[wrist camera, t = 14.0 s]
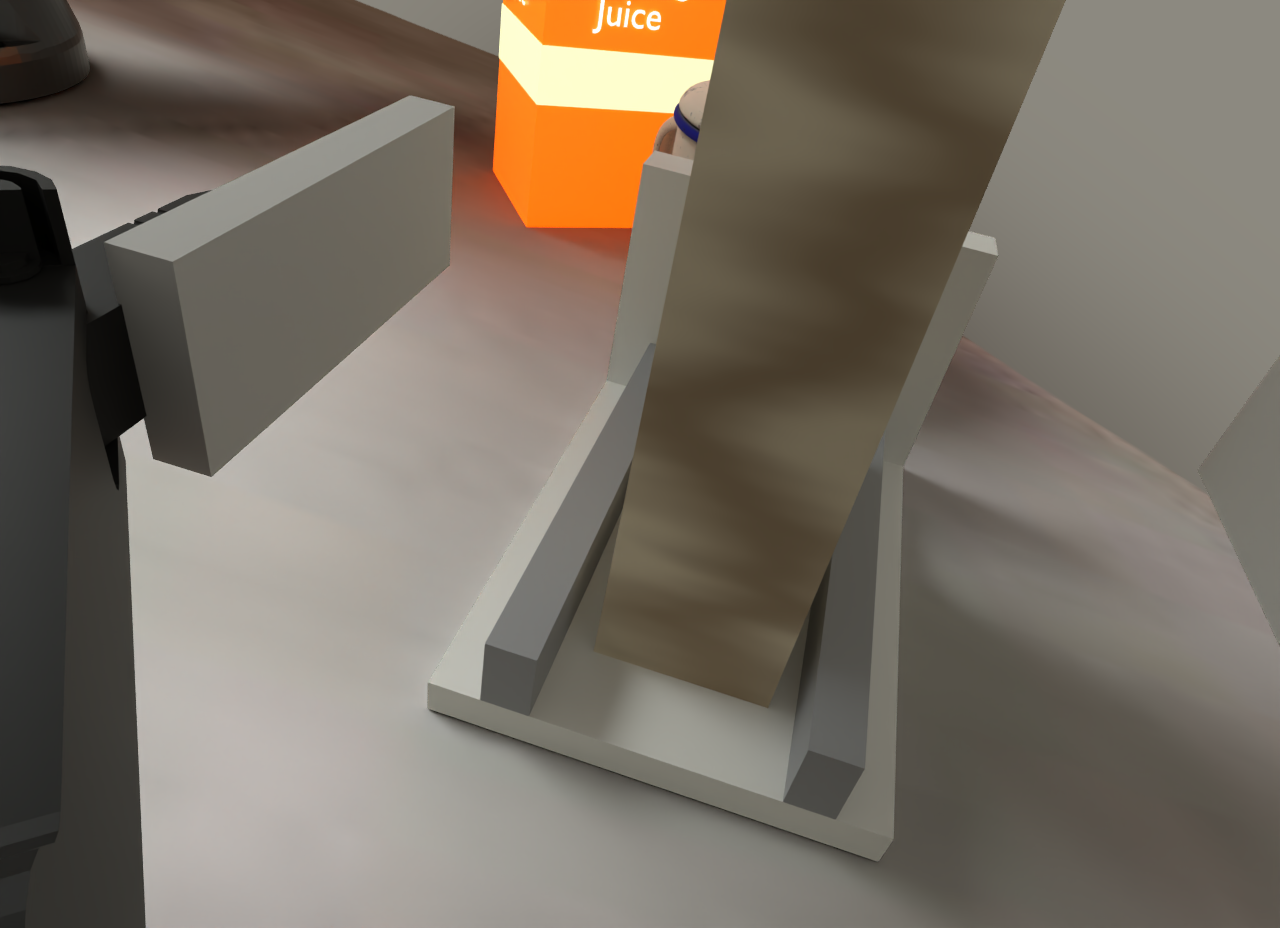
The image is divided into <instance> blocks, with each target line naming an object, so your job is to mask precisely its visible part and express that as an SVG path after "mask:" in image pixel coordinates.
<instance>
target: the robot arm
mask: <svg viewBox="0 0 1280 928" xmlns="http://www.w3.org/2000/svg"><path fill="white" fill-rule="evenodd" d="M89 71H90V65H89V61H88V56H87V51H86V47H85V42H84V37H83V33H82V30H81V27H80V25H79V22H78V20H77V19H76V17H75V15H74V13H73V11H72V9H71V8H70V6H69V4H68V2H67V0H0V104H1V103H9V102H16V101H22V100H28V99H33V98H37V97H42V96H46V95H50V94H53V93H56V92H59V91H62V90H65V89H67V88H70V87H72V86H74V85H76V84H78V83H79V82H81V81H82V80H83V79H84V78H85V77H86V76H87V75H88V73H89ZM454 110H455V107H454V106H450V105H446V104H443V103H439V102H435V101H431V100H427V99H423V98H419V97H415V96H411V95H410V96H408V97H406V98H404V99H401V100H399V101H397V102H395V103H393V104H391V105H389V106H387V107H385V108H383V109H381V110H378V111H376V112H374V113H372V114H370V115H368V116H366V117H364V118H362V119H360V120H358V121H356V122H353V123H351V124H349V125H347V126H345V127H343V128H341V129H339V130H337V131H335V132H333V133H330V134H328V135H326V136H324V137H322V138H320V139H318V140H316V141H314V142H312V143H310V144H308V145H305V146H303V147H301V148H299V149H297V150H295V151H293V152H291V153H289V154H287V155H285V156H282V157H280V158H278V159H276V160H274V161H272V162H270V163H268V164H266V165H264V166H262V167H260V168H257V169H255V170H253V171H251V172H249V173H247V174H245V175H243V176H241V177H239V178H237V179H234V180H232V181H230V182H228V183H226V184H224V185H222V186H220V187H218V188H216V189H214V190H210V191H205V192H200V193H195V194H191V195H186V196H184V197H182V198H180V199H178V200H176V201H174V202H171V203H169V204H167V205H165V206H163V207H161V208H159V209H158V212H157V213H156V212H150V213H148V214H146V215H144V216H142V217H140V218H137V219H135V220H134V224H131V223H127V224H125V225H122V226H120V227H118V228H116V229H114V230H112V231H110V232H108V233H105V234H103V235H101V236H99V237H97V238H95V239H93V240H91V241H88V242H86V243H84V244H82V245H80V246H78V247H76V248H74V249H72V248H71V244H70V240H69V236H68V232H67V228H66V224H65V220H64V216H63V212H62V209H61V205H60V201H59V197H58V193H57V189H56V187H55V185H54V183H53V182H52V180H51V179H49V178H47V177H45V176H43V175H41V174H39V173H37V172H35V171H30V170H26V169H21V168H16V167H12V166H0V928H146V925H145V902H144V879H143V855H142V832H141V809H140V786H139V763H138V739H137V716H136V693H135V670H134V646H133V623H132V600H131V577H130V554H129V530H128V507H127V484H126V461H125V457H124V453H123V449H122V445H121V441H120V437H119V436H120V435H121V434H123V433H124V432H125V431H127V430H128V429H129V428H131V427H132V426H134V425H135V424H136V423H138V422H139V421H140V420H142V419H143V418H144V421H145V425H146V429H147V434H148V438H149V442H150V447H151V451H152V455H153V459H155V460H159V461H162V462H165V463H168V464H171V465H175V466H178V467H181V468H184V469H187V470H191V471H194V472H197V473H200V474H204V475H207V476H210V477H212V476H213V475H214V474H215V473H216V472H217V471H219V470H220V469H221V468H222V467H223V466H224V465H225V464H226V463H228V462H229V461H230V460H231V459H232V458H233V457H234V456H235V455H237V454H238V453H239V452H240V451H241V450H242V449H243V448H244V447H246V446H247V445H248V444H249V443H250V442H251V441H252V440H253V439H255V438H256V437H257V436H258V435H259V434H260V433H261V432H262V431H264V430H265V429H266V428H267V427H268V426H269V425H270V424H271V423H273V422H274V421H275V420H276V419H277V418H278V417H279V416H280V415H282V414H283V413H284V412H285V411H286V410H287V409H288V408H289V407H291V406H292V405H293V404H294V403H295V402H296V401H297V400H298V399H300V398H301V397H302V396H303V395H304V394H305V393H306V392H307V391H309V390H310V389H311V388H312V387H313V386H314V385H315V384H316V383H318V382H319V381H320V380H321V379H322V378H323V377H324V376H325V375H327V374H328V373H329V372H330V371H331V370H332V369H333V368H334V367H336V366H337V365H338V364H339V363H340V362H341V361H342V360H343V359H345V358H346V357H347V356H348V355H349V354H350V353H351V352H352V351H354V350H355V349H356V348H357V347H358V346H359V345H360V344H361V343H363V342H364V341H365V340H366V339H367V338H368V337H369V336H370V335H372V334H373V333H374V332H375V331H376V330H377V329H378V328H379V327H381V326H382V325H383V324H384V323H385V322H386V321H387V320H388V319H390V318H391V317H392V316H393V315H394V314H395V313H396V312H397V311H399V310H400V309H401V308H402V307H403V306H404V305H405V304H406V303H408V302H409V301H410V300H411V299H412V298H413V297H414V296H415V295H417V294H418V293H419V292H420V291H421V290H422V289H423V288H424V287H426V286H427V285H428V284H429V283H430V282H431V281H432V280H433V279H435V278H436V277H437V276H438V275H439V274H440V273H441V272H442V271H444V270H445V269H446V268H447V267H448V266H449V265H450V236H451V204H452V173H453V141H454ZM1198 472H1199V474H1200V477H1201V479H1202V481H1203V483H1204V485H1205V487H1206V489H1207V492H1208V494H1209V496H1210V498H1211V500H1212V502H1213V505H1214V507H1215V509H1216V511H1217V513H1218V515H1219V517H1220V520H1221V522H1222V524H1223V526H1224V528H1225V530H1226V532H1227V535H1228V537H1229V539H1230V541H1231V543H1232V545H1233V547H1234V550H1235V552H1236V554H1237V556H1238V558H1239V560H1240V562H1241V565H1242V567H1243V569H1244V571H1245V573H1246V575H1247V577H1248V580H1249V582H1250V584H1251V586H1252V588H1253V590H1254V592H1255V595H1256V597H1257V599H1258V601H1259V603H1260V605H1261V607H1262V610H1263V612H1264V614H1265V616H1266V618H1267V620H1268V622H1269V625H1270V627H1271V629H1272V631H1273V633H1274V635H1275V637H1276V640H1277V642H1278V644H1279V646H1280V356H1279V357H1278V359H1277V360H1276V361H1275V363H1274V364H1273V365H1272V367H1271V368H1270V370H1269V371H1268V372H1267V374H1266V375H1265V377H1264V378H1263V379H1262V381H1261V382H1260V384H1259V385H1258V386H1257V388H1256V389H1255V391H1254V392H1253V393H1252V395H1251V396H1250V398H1249V399H1248V400H1247V402H1246V403H1245V404H1244V406H1243V407H1242V409H1241V410H1240V412H1239V413H1238V414H1237V416H1236V417H1235V418H1234V420H1233V421H1232V423H1231V424H1230V426H1229V427H1228V428H1227V430H1226V431H1225V432H1224V434H1223V435H1222V437H1221V438H1220V439H1219V441H1218V442H1217V444H1216V445H1215V446H1214V448H1213V449H1212V451H1211V452H1210V453H1209V455H1208V456H1207V458H1206V459H1205V460H1204V462H1203V463H1202V465H1201V466H1200V467H1199V469H1198Z"/></svg>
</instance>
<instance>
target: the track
mask: <svg viewBox="0 0 1280 928" xmlns="http://www.w3.org/2000/svg"><path fill="white" fill-rule="evenodd" d="M693 161H694V160H690V159H686V158H682V157H679V156H675V155H671V154H667V153H663V152H659V151H654V152H653V153H652V154H651V155H650V157H649V158H648V159H647V160H646V161H645V162H644V163H643V168H642V174H641V180H640V185H639V191H638V197H637V203H636V209H635V215H634V221H633V227H632V233H631V239H630V245H629V251H628V257H627V263H626V269H625V275H624V281H623V287H622V293H621V298H620V304H619V310H618V316H617V322H616V328H615V334H614V340H613V346H612V352H611V358H610V364H609V370H608V376H607V381H606V382H605V384H604V386H603V388H602V389H601V391H600V393H599V394H598V396H597V398H596V399H595V401H594V403H593V404H592V406H591V408H590V409H589V411H588V413H587V415H586V416H585V418H584V420H583V421H582V423H581V425H580V426H579V428H578V430H577V431H576V433H575V435H574V437H573V438H572V440H571V442H570V443H569V445H568V447H567V448H566V450H565V452H564V453H563V455H562V457H561V458H560V460H559V462H558V464H557V465H556V467H555V469H554V470H553V472H552V474H551V475H550V477H549V479H548V480H547V482H546V484H545V485H544V487H543V489H542V491H541V492H540V494H539V496H538V497H537V499H536V501H535V502H534V504H533V506H532V507H531V509H530V511H529V513H528V514H527V516H526V518H525V519H524V521H523V523H522V524H521V526H520V528H519V529H518V531H517V533H516V534H515V536H514V538H513V540H512V541H511V543H510V545H509V546H508V548H507V550H506V551H505V553H504V555H503V556H502V558H501V560H500V562H499V563H498V565H497V567H496V568H495V570H494V572H493V573H492V575H491V577H490V578H489V580H488V582H487V583H486V585H485V587H484V589H483V590H482V592H481V594H480V595H479V597H478V599H477V600H476V602H475V604H474V605H473V607H472V609H471V610H470V612H469V614H468V616H467V617H466V619H465V621H464V622H463V624H462V626H461V627H460V629H459V631H458V632H457V634H456V636H455V638H454V639H453V641H452V643H451V644H450V646H449V648H448V649H447V651H446V653H445V654H444V656H443V658H442V659H441V661H440V663H439V665H438V666H437V668H436V670H435V671H434V673H433V675H432V676H431V678H430V680H429V681H428V701H427V708H428V709H431V710H433V711H436V712H439V713H442V714H445V715H448V716H451V717H454V718H457V719H460V720H463V721H466V722H469V723H472V724H475V725H478V726H480V727H483V728H486V729H489V730H492V731H495V732H498V733H501V734H504V735H507V736H510V737H513V738H516V739H519V740H522V741H525V742H527V743H530V744H533V745H536V746H539V747H542V748H545V749H548V750H551V751H554V752H557V753H560V754H563V755H566V756H569V757H572V758H574V759H577V760H580V761H583V762H586V763H589V764H592V765H595V766H598V767H601V768H604V769H607V770H610V771H613V772H616V773H619V774H621V775H624V776H627V777H630V778H633V779H636V780H639V781H642V782H645V783H648V784H651V785H654V786H657V787H660V788H663V789H666V790H669V791H671V792H674V793H677V794H680V795H683V796H686V797H689V798H692V799H695V800H698V801H701V802H704V803H707V804H710V805H713V806H716V807H718V808H721V809H724V810H727V811H730V812H733V813H736V814H739V815H742V816H745V817H748V818H751V819H754V820H757V821H760V822H763V823H765V824H768V825H771V826H774V827H777V828H780V829H783V830H786V831H789V832H792V833H795V834H798V835H801V836H804V837H807V838H810V839H812V840H815V841H818V842H821V843H824V844H827V845H830V846H833V847H836V848H839V849H842V850H845V851H848V852H851V853H854V854H857V855H859V856H862V857H865V858H868V859H871V860H874V861H877V862H879V860H880V859H881V857H882V856H883V854H884V853H885V851H886V850H887V849H888V847H889V846H890V844H891V843H892V841H893V840H894V808H895V769H896V731H897V693H898V654H899V616H900V577H901V539H902V500H903V466H904V464H905V462H906V459H907V457H908V455H909V453H910V450H911V448H912V446H913V444H914V442H915V439H916V437H917V435H918V433H919V431H920V428H921V426H922V424H923V422H924V419H925V417H926V415H927V413H928V411H929V408H930V406H931V404H932V402H933V400H934V397H935V395H936V393H937V391H938V388H939V386H940V384H941V382H942V380H943V377H944V375H945V373H946V371H947V369H948V366H949V364H950V362H951V360H952V357H953V355H954V353H955V351H956V349H957V346H958V344H959V342H960V340H961V338H962V335H963V333H964V331H965V329H966V326H967V324H968V322H969V320H970V318H971V315H972V313H973V311H974V309H975V306H976V304H977V302H978V300H979V298H980V295H981V293H982V291H983V289H984V286H985V284H986V282H987V280H988V277H989V276H990V273H991V271H992V269H993V266H994V264H995V262H996V260H997V258H998V252H997V246H996V241H995V238H993V237H989V236H985V235H982V234H978V233H973V232H970V231H968V234H967V236H966V238H965V241H964V243H963V246H962V248H961V250H960V253H959V255H958V257H957V260H956V262H955V265H954V267H953V269H952V272H951V274H950V276H949V279H948V281H947V284H946V286H945V288H944V291H943V293H942V295H941V298H940V300H939V303H938V305H937V307H936V310H935V312H934V315H933V317H932V319H931V322H930V324H929V326H928V329H927V331H926V334H925V336H924V338H923V341H922V343H921V345H920V348H919V350H918V353H917V355H916V357H915V360H914V362H913V364H912V367H911V369H910V372H909V374H908V376H907V379H906V381H905V383H904V386H903V388H902V391H901V393H900V395H899V398H898V400H897V402H896V405H895V407H894V410H893V412H892V414H891V417H890V419H889V421H888V424H887V426H886V429H885V431H884V433H883V436H882V438H881V440H880V443H879V445H878V448H877V450H876V452H875V455H874V457H873V459H872V462H871V464H870V467H869V469H868V471H867V474H866V476H865V478H864V481H863V483H862V486H861V488H860V490H859V493H858V495H857V497H856V500H855V502H854V505H853V507H852V509H851V512H850V514H849V516H848V519H847V521H846V524H845V526H844V528H843V531H842V533H841V535H840V538H839V540H838V543H837V545H836V547H835V550H834V552H833V554H832V557H831V559H830V562H829V564H828V566H827V569H826V571H825V573H824V576H823V578H822V581H821V583H820V585H819V588H818V590H817V592H816V595H815V597H814V600H813V602H812V604H811V607H810V609H809V611H808V614H807V616H806V619H805V621H804V623H803V626H802V628H801V630H800V633H799V635H798V638H797V640H796V642H795V645H794V647H793V649H792V652H791V654H790V657H789V659H788V661H787V664H786V666H785V669H784V671H783V673H782V676H781V678H780V680H779V683H778V685H777V688H776V690H775V692H774V695H773V697H772V699H771V702H770V704H769V707H768V708H766V707H763V706H760V705H757V704H754V703H751V702H747V701H744V700H741V699H738V698H735V697H732V696H729V695H726V694H723V693H720V692H717V691H714V690H711V689H708V688H704V687H701V686H698V685H695V684H692V683H689V682H686V681H683V680H680V679H677V678H674V677H671V676H668V675H665V674H661V673H658V672H655V671H652V670H649V669H646V668H643V667H640V666H637V665H634V664H631V663H628V662H625V661H621V660H618V659H615V658H612V657H609V656H606V655H603V654H600V653H597V652H594V647H595V642H596V637H597V632H598V627H599V622H600V617H601V612H602V608H603V603H604V598H605V593H606V588H607V583H608V578H609V573H610V568H611V563H612V558H613V554H614V549H615V544H616V539H617V534H618V529H619V524H620V519H621V514H622V509H623V504H624V500H625V495H626V490H627V485H628V480H629V475H630V470H631V465H632V460H633V455H634V450H635V446H636V441H637V436H638V431H639V426H640V421H641V416H642V411H643V406H644V401H645V396H646V392H647V387H648V382H649V377H650V372H651V367H652V362H653V357H654V352H655V347H656V342H657V338H658V333H659V328H660V323H661V318H662V313H663V308H664V303H665V298H666V293H667V288H668V284H669V279H670V274H671V269H672V264H673V259H674V254H675V249H676V244H677V239H678V235H679V230H680V225H681V220H682V215H683V210H684V205H685V200H686V195H687V190H688V185H689V181H690V176H691V171H692V166H693Z"/></svg>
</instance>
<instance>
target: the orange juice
mask: <svg viewBox="0 0 1280 928" xmlns="http://www.w3.org/2000/svg"><path fill="white" fill-rule="evenodd" d="M725 4H726V0H503V4H502V13H501V15H502V16H501V30H500V47H499V58H500V62H499V79H498V95H497V112H496V128H495V144H494V161H493V171H494V173H495V175H496V177H497V178H498V180H499V182H500V183H501V185H502V187H503V188H504V190H505V192H506V194H507V195H508V197H509V199H510V200H511V202H512V204H513V205H514V207H515V209H516V211H517V212H518V214H519V216H520V217H521V219H522V221H523V222H524V224H525V226H526V227H572V228H632V227H633V221H634V215H635V209H636V203H637V197H638V191H639V185H640V180H641V174H642V168H643V163H644V162H645V161H646V160H647V159H648V158H649V157H650V155H651V154H652V152H653V146H654V141H655V138H656V135H657V133H658V131H659V129H660V127H661V126H662V125H663V123H664V122H665V121H667V120H668V119H669V118H671V117H672V116H674V110H675V107H676V106H677V104H678V103H679V101H680V98H681V96H682V95H683V94H684V92H685V91H686V90H687V89H688V88H690V87H691V86H693V85H695V84H697V83H700V82H703V81H707V80H710V77H711V73H712V68H713V63H714V58H715V53H716V48H717V43H718V38H719V33H720V28H721V23H722V19H723V14H724V9H725Z"/></svg>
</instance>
